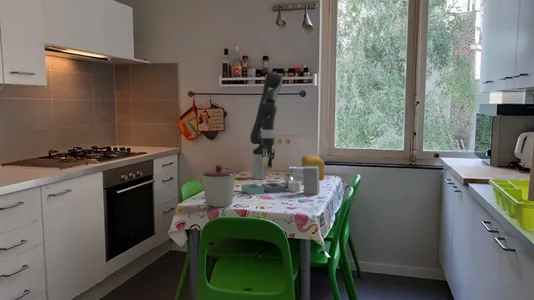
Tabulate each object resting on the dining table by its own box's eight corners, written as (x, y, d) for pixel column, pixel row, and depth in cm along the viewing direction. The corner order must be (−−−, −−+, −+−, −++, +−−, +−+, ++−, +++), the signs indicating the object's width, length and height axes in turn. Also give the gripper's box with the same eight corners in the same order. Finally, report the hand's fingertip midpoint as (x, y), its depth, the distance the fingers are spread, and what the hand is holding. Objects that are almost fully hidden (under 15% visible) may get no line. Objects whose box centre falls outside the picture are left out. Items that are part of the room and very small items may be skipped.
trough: (241, 190, 256) (241, 184, 255) (254, 189, 259) (254, 183, 259) (250, 195, 244) (250, 189, 243) (263, 193, 247) (263, 187, 247)
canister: (240, 202, 227) (240, 163, 224) (230, 210, 209) (230, 168, 207) (208, 200, 231) (208, 161, 228) (195, 208, 213) (195, 166, 211)
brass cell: (269, 167, 256) (269, 154, 255) (273, 168, 252) (273, 155, 251) (262, 167, 254) (262, 155, 253) (266, 168, 250) (266, 155, 249)
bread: (324, 180, 291) (325, 158, 289) (305, 180, 290) (306, 158, 288) (318, 174, 315) (318, 154, 313) (300, 174, 314) (301, 154, 313)
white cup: (286, 189, 258) (286, 181, 258) (297, 188, 261) (297, 180, 261) (291, 192, 251) (291, 183, 251) (303, 191, 255) (303, 182, 254)
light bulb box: (305, 182, 281) (305, 166, 280) (305, 184, 275) (305, 168, 273) (289, 182, 282) (289, 166, 281) (288, 184, 276) (288, 167, 274)
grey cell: (283, 187, 264) (283, 175, 263) (290, 187, 266) (290, 175, 265) (287, 189, 260) (287, 177, 259) (294, 188, 262) (294, 176, 261)
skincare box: (319, 192, 251) (320, 166, 249) (317, 195, 244) (317, 168, 242) (305, 191, 253) (306, 165, 251) (302, 194, 247) (303, 167, 245)
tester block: (261, 189, 259) (261, 182, 259) (276, 188, 263) (276, 181, 263) (269, 193, 248) (269, 186, 248) (285, 191, 253) (285, 185, 252)
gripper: (279, 137, 246) (279, 167, 248) (268, 136, 259) (268, 163, 261) (267, 138, 243) (267, 167, 245) (257, 136, 255) (257, 164, 257)
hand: (267, 165), depth 253 cm, fingers closed on brass cell, 4 cm apart
